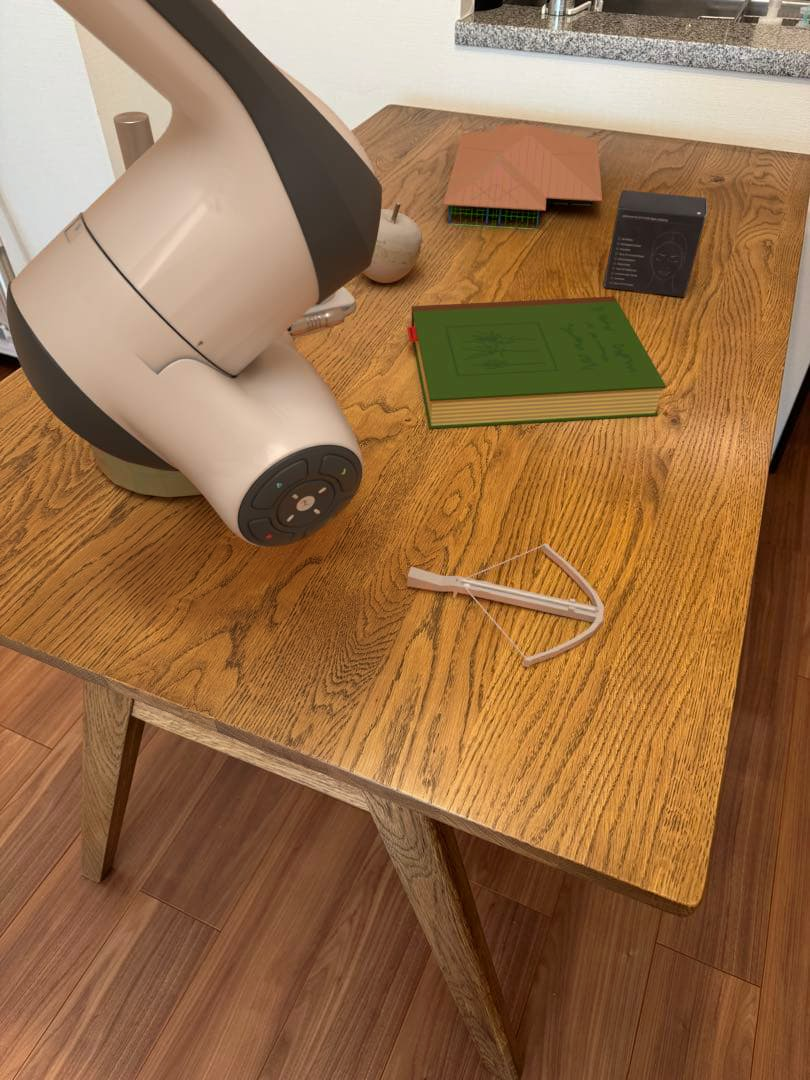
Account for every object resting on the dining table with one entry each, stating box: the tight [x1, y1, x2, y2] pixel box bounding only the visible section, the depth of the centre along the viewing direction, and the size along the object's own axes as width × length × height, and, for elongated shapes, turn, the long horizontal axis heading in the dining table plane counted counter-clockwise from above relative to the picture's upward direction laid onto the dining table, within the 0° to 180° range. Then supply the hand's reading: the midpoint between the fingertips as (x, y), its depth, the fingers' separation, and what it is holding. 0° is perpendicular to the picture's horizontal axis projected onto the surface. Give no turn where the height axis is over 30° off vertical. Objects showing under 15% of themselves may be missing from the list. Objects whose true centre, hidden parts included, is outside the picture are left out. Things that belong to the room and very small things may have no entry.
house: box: [442, 123, 603, 231], centre depth 123 cm, size 23×33×8 cm
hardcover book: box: [406, 296, 667, 430], centre depth 87 cm, size 25×19×4 cm
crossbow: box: [406, 543, 605, 668], centre depth 64 cm, size 16×13×2 cm
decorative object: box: [362, 201, 423, 284], centre depth 100 cm, size 9×9×10 cm
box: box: [602, 189, 708, 298], centre depth 99 cm, size 11×7×10 cm, turn 74°
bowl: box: [89, 443, 203, 498], centre depth 77 cm, size 19×19×6 cm
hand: (161, 260), depth 58 cm, fingers closed on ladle, 2 cm apart
